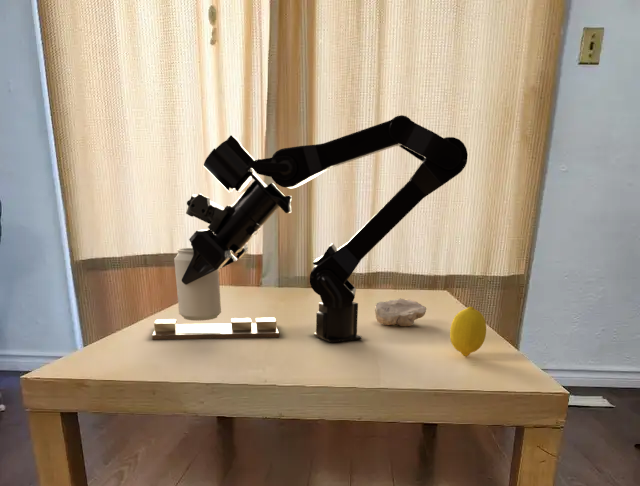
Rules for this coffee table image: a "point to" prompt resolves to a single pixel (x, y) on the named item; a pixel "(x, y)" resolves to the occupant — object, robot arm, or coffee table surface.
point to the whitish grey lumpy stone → (399, 312)
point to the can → (196, 291)
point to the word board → (215, 329)
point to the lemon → (468, 331)
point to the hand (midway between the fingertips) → (190, 279)
